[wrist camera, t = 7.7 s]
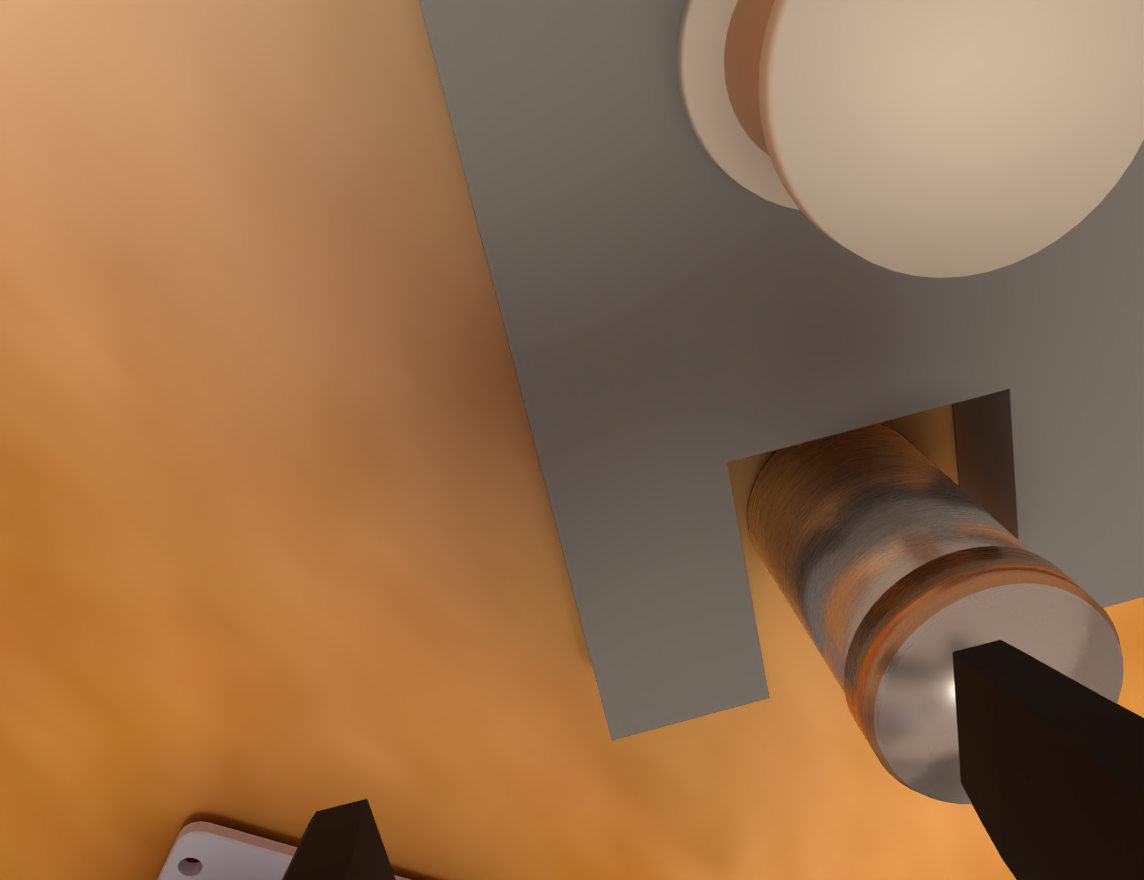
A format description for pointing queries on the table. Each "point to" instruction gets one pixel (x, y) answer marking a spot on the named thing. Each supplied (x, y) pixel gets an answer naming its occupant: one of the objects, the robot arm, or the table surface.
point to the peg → (913, 592)
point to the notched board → (803, 280)
